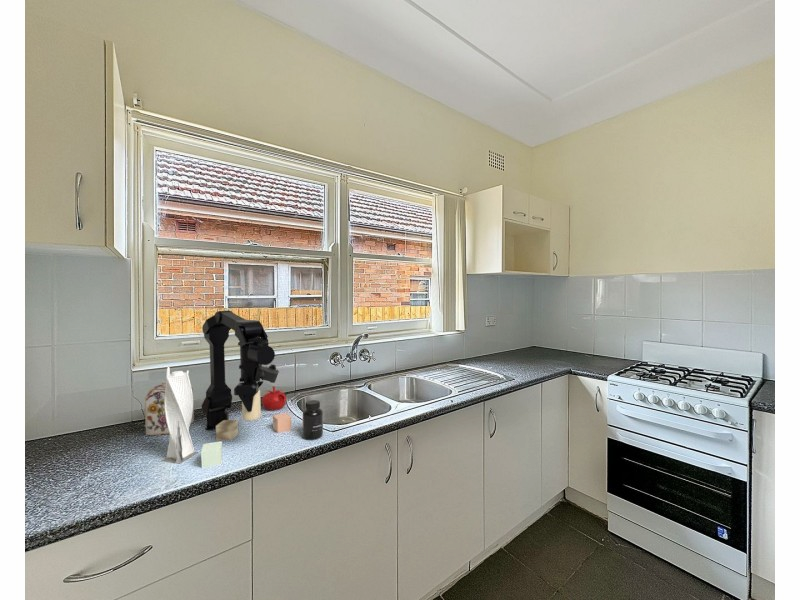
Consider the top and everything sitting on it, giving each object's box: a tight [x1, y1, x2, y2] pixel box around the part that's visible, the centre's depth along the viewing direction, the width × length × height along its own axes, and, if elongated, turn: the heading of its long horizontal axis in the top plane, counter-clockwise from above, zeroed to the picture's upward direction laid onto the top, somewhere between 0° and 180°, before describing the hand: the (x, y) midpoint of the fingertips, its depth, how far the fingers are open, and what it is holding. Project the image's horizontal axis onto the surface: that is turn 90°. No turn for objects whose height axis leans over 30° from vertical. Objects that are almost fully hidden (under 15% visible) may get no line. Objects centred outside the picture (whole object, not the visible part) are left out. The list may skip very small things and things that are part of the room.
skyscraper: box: [160, 366, 199, 465], centre depth 108 cm, size 8×8×28 cm
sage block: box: [200, 440, 223, 468], centre depth 104 cm, size 5×5×5 cm
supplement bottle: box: [302, 399, 324, 441], centre depth 121 cm, size 7×7×12 cm
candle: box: [241, 388, 262, 422], centre depth 113 cm, size 6×6×10 cm
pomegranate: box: [261, 385, 287, 411], centre depth 150 cm, size 10×10×9 cm
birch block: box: [215, 419, 239, 441], centre depth 122 cm, size 5×5×5 cm
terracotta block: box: [272, 412, 293, 434], centre depth 128 cm, size 5×5×5 cm
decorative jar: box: [144, 379, 195, 436], centre depth 129 cm, size 12×12×18 cm
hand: (251, 408), depth 113 cm, fingers closed on candle, 5 cm apart
